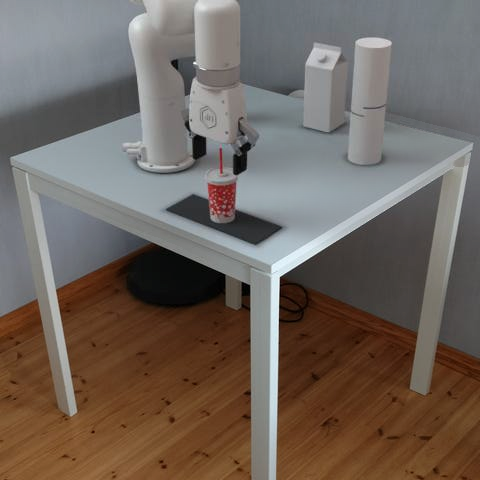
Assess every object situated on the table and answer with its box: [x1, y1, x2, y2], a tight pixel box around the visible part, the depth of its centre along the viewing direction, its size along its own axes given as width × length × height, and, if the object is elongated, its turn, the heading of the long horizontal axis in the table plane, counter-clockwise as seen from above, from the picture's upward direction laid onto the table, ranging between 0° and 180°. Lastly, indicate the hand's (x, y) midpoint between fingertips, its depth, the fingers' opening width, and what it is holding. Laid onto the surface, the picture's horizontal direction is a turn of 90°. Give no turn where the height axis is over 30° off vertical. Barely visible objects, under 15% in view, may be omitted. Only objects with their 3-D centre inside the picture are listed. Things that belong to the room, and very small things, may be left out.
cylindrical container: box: [347, 37, 393, 166], centre depth 166 cm, size 7×7×25 cm
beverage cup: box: [204, 147, 239, 223], centre depth 146 cm, size 6×6×14 cm
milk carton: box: [302, 42, 349, 134], centre depth 183 cm, size 7×7×19 cm
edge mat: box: [165, 193, 283, 246], centre depth 150 cm, size 22×8×1 cm, turn 51°
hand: (219, 164), depth 145 cm, fingers open, 9 cm apart
